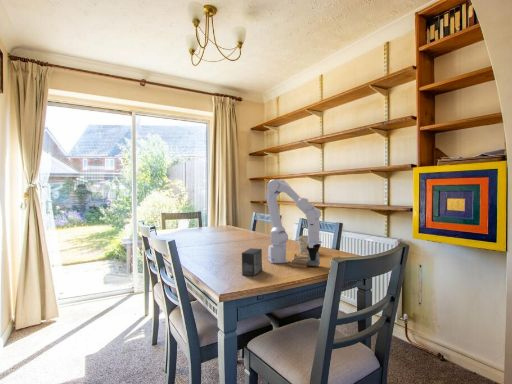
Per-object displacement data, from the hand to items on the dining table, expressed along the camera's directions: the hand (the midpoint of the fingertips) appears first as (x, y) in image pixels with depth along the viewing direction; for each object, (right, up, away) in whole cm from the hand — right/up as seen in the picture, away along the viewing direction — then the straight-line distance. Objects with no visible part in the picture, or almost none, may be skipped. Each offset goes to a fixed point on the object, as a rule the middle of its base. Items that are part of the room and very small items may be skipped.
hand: (313, 259), depth 144 cm
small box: (-31, -4, -10) cm, 33 cm away
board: (-3, -3, +10) cm, 11 cm away
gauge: (-3, -3, +1) cm, 5 cm away
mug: (+2, -3, +30) cm, 31 cm away
